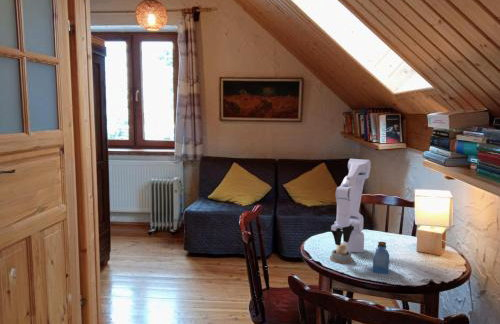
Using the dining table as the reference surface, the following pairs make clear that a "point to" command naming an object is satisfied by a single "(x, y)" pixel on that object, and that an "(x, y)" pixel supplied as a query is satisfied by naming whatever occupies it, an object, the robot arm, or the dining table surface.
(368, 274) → the dining table surface
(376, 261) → the blue corked bottle
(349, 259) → the bottle holder
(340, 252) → the wooden peg
